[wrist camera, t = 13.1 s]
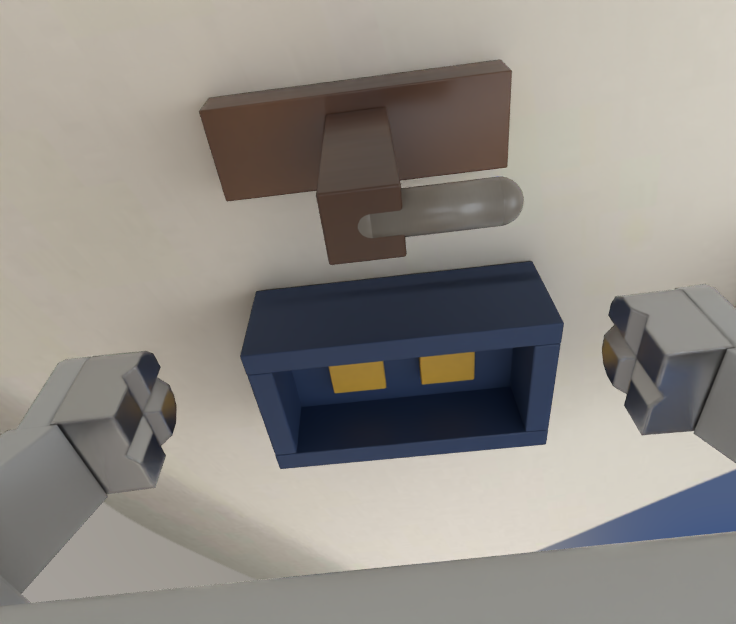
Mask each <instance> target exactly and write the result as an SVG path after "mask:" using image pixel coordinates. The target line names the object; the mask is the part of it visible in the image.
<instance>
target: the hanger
mask: <svg viewBox="0 0 736 624" xmlns="http://www.w3.org/2000/svg"><path fill="white" fill-rule="evenodd" d="M511 78H512V71H511V70H510V69H509V67H508V66H507V65H506V64H505V63H504V62H503V61H502V60H494V61H486V62H479V63H471V64H463V65H456V66H448V67H441V68H433V69H425V70H418V71H410V72H402V73H395V74H387V75H380V76H372V77H364V78H357V79H349V80H341V81H334V82H326V83H319V84H311V85H303V86H296V87H288V88H280V89H273V90H265V91H258V92H250V93H242V94H235V95H227V96H220V97H212V98H208V100H207V101H206V102H205V104H204V105H203V107H202V108H201V109H200V111H199V113H200V117H201V120H202V123H203V127H204V130H205V133H206V136H207V140H208V143H209V146H210V149H211V153H212V156H213V159H214V163H215V166H216V169H217V172H218V176H219V179H220V182H221V185H222V189H223V192H224V195H225V199H226V201H234V200H242V199H251V198H259V197H267V196H275V195H284V194H292V193H300V192H308V191H317V192H316V198H317V203H318V208H319V214H320V219H321V224H322V229H323V235H324V240H325V245H326V250H327V256H328V261H329V264H330V265H335V264H344V263H353V262H361V261H370V260H379V259H388V258H396V257H404V256H406V242H405V237H410V236H418V235H427V234H436V233H444V232H453V231H461V230H470V229H479V228H487V227H496V226H503V225H506V224H509V223H511V222H512V221H514V220H515V219H516V218H517V217H518V216H519V214H520V212H521V210H522V208H523V203H524V197H523V193H522V190H521V188H520V187H519V185H518V184H517V183H516V182H514V181H513V180H511V179H509V178H506V177H492V178H484V179H476V180H467V181H459V182H451V183H443V184H434V185H426V186H418V187H409V188H401V184H400V180H407V179H415V178H424V177H432V176H440V175H448V174H457V173H465V172H473V171H481V170H490V169H498V168H506V167H507V162H508V141H509V120H510V99H511Z"/></svg>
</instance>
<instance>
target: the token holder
mask: <svg viewBox="0 0 736 624" xmlns="http://www.w3.org/2000/svg"><path fill="white" fill-rule="evenodd" d="M563 325H564V323H563V321H562V319H561V317H560V315H559V313H558V311H557V309H556V307H555V305H554V303H553V301H552V299H551V297H550V295H549V293H548V291H547V289H546V287H545V285H544V283H543V281H542V280H541V278H540V276H539V274H538V272H537V270H536V268H535V266H534V264H533V262H532V261H529V262H520V263H511V264H502V265H493V266H484V267H474V268H465V269H456V270H447V271H438V272H429V273H420V274H410V275H401V276H392V277H383V278H374V279H365V280H356V281H346V282H337V283H328V284H319V285H310V286H301V287H291V288H282V289H273V290H264V291H257V292H256V294H255V298H254V302H253V306H252V310H251V315H250V319H249V323H248V327H247V331H246V335H245V339H244V343H243V347H242V351H241V356H240V357H241V360H242V363H243V366H244V369H245V371H246V374H247V376H248V379H249V382H250V384H251V387H252V390H253V393H254V396H255V399H256V401H257V404H258V407H259V410H260V413H261V415H262V418H263V421H264V424H265V427H266V430H267V432H268V435H269V438H270V441H271V444H272V447H273V449H274V452H275V454H276V459H277V461H278V464H279V467H280V469H286V468H296V467H307V466H318V465H329V464H339V463H350V462H361V461H372V460H383V459H393V458H404V457H415V456H426V455H436V454H447V453H458V452H469V451H480V450H490V449H501V448H512V447H523V446H533V445H544V444H546V440H547V434H548V425H549V418H550V412H551V405H552V398H553V391H554V384H555V377H556V371H557V364H558V357H559V350H560V343H561V339H562V332H563Z"/></svg>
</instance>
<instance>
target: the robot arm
mask: <svg viewBox="0 0 736 624" xmlns="http://www.w3.org/2000/svg"><path fill="white" fill-rule="evenodd" d="M608 316H609V317H610V319H611V320H612V322H613V323H614V326H613V327H612V328H611V329H610V330H609V331H608V332H607V333H606V334H605V335H604V340H603V346H602V355H603V365H604V367H605V370H606V373H607V376H608V378H609V380H610V381H611V383H612V385H613V386H614V387H615V388H617V389H619V390H621V391H622V392H624V393H626V394H627V396H626V400H625V404H624V406H625V408H626V409H627V411H628V413H629V414H630V416H631V418H632V419H633V421H634V423H635V425H636V426H637V428H638V430H639V431H640V433H641V435H650V434H662V433H674V432H686V431H694V434H695V435H697V436H698V437H700V438H701V439H702V440H704V441H705V442H707V443H708V444H709V445H711V446H712V447H714V448H715V449H716V450H718V451H719V452H721V453H722V454H724V455H725V456H726V457H728V458H729V459H731V460H732V461H733V462H735V463H736V308H735V307H734V306H733V305H732V304H731V303H730V302H729V301H728V300H727V299H726V298H724V297H723V296H722V295H721V294H720V293H719V292H718V291H717V290H716V289H715V288H714V287H712V286H710V285H707V284H702V285H695V286H688V287H681V288H675V289H674V290H664V291H656V292H648V293H639V294H631V295H623V296H615V298H614V300H613V301H612V303H611V306H610V310H609V315H608ZM160 368H161V367H160V365H159V363H158V361H157V359H156V358H155V356H154V354H153V353H150V352H148V351H141V352H130V353H119V354H109V355H98V356H92V357H81V358H71V359H65V360H63V361H61V362H59V363H58V364H57V365H56V367H55V369H54V370H53V372H52V373H51V375H50V377H49V378H48V380H47V381H46V383H45V384H44V386H43V388H42V389H41V391H40V392H39V394H38V396H37V397H36V399H35V400H34V402H33V404H32V405H31V407H30V408H29V410H28V411H27V413H26V415H25V416H24V418H23V419H22V421H21V423H20V424H19V426H18V427H17V429H15V430H7V431H6V432H4V433H3V434H1V435H0V624H736V532H726V533H716V534H706V535H696V536H687V537H677V538H667V539H658V540H648V541H637V542H628V543H618V544H609V545H599V546H588V547H579V548H569V549H559V550H550V551H540V552H530V553H520V554H510V555H500V556H491V557H481V558H471V559H461V560H451V561H442V562H432V563H422V564H412V565H402V566H392V567H382V568H372V569H362V570H353V571H343V572H333V573H323V574H313V575H303V576H293V577H283V578H273V579H263V580H253V581H244V582H234V583H224V584H214V585H204V586H194V587H184V588H175V589H164V590H155V591H145V592H135V593H125V594H116V595H106V596H96V597H86V598H75V599H67V600H56V601H46V602H36V603H31V602H30V601H28V600H27V599H26V598H25V597H24V596H23V595H22V593H23V591H24V590H25V589H26V588H27V587H28V586H29V585H30V584H31V582H32V581H33V580H34V579H35V578H36V577H37V576H38V575H39V573H40V572H41V571H42V570H43V569H44V568H45V567H46V566H47V564H48V563H49V562H50V561H51V560H52V559H53V558H54V557H55V555H56V554H57V553H58V552H59V551H60V550H61V549H62V547H63V546H64V545H65V544H66V543H67V542H68V541H69V540H70V538H71V537H72V536H73V535H74V534H75V533H76V532H77V531H78V530H79V528H80V527H81V526H82V525H83V524H84V523H85V522H86V521H87V519H88V518H89V517H90V516H91V515H92V514H93V513H94V512H95V510H96V509H97V508H98V507H99V506H100V505H101V504H102V503H103V501H104V500H105V499H106V498H107V494H112V493H119V492H127V491H134V490H141V489H149V488H155V487H156V484H157V481H158V478H159V475H160V472H161V469H162V466H163V463H164V460H165V457H166V455H165V453H164V451H163V449H162V448H161V445H162V444H164V443H165V442H166V441H167V440H168V439H169V438H170V437H171V436H172V434H173V431H174V428H175V424H176V407H177V406H176V402H175V398H174V394H173V392H172V390H171V388H170V385H169V384H167V383H165V382H164V381H162V380H161V379H159V378H157V375H158V373H159V370H160Z"/></svg>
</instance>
